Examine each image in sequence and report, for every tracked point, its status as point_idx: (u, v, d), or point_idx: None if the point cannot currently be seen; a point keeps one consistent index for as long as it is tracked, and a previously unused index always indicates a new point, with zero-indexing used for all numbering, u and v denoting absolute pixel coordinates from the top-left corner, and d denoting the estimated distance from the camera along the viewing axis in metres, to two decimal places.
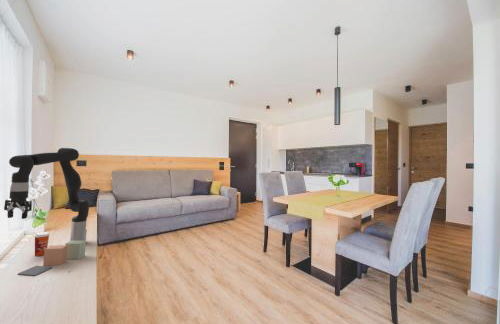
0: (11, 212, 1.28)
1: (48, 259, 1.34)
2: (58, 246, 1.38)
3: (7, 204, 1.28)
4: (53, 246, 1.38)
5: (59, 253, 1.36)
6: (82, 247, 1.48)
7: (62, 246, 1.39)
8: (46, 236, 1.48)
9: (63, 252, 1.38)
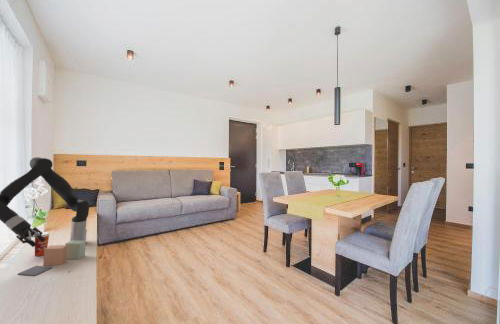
0: (40, 237, 1.39)
1: (48, 259, 1.34)
2: (58, 246, 1.38)
3: None
4: (53, 246, 1.38)
5: (59, 253, 1.36)
6: (82, 247, 1.48)
7: (62, 246, 1.39)
8: (46, 236, 1.48)
9: (63, 252, 1.38)
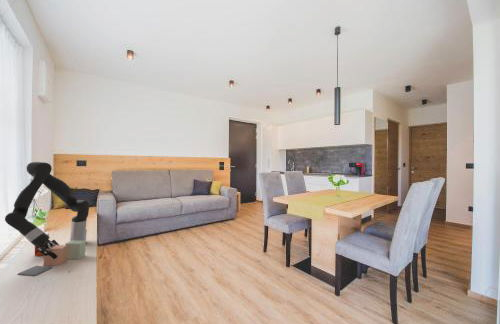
0: None
1: (48, 259, 1.34)
2: (58, 246, 1.38)
3: None
4: (53, 246, 1.38)
5: (59, 253, 1.36)
6: (82, 247, 1.48)
7: (62, 246, 1.39)
8: None
9: (63, 252, 1.38)
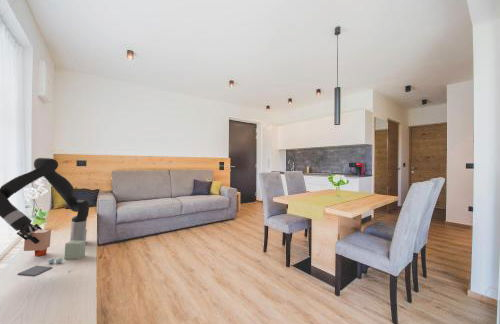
0: None
1: (29, 244, 1.23)
2: (41, 231, 1.27)
3: None
4: (35, 230, 1.28)
5: (41, 238, 1.25)
6: (82, 247, 1.48)
7: (45, 230, 1.28)
8: None
9: (46, 237, 1.27)
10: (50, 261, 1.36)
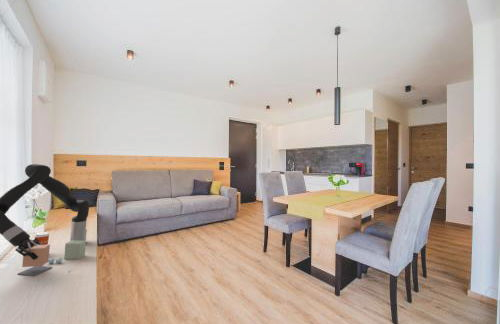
0: None
1: (28, 260, 1.23)
2: (39, 246, 1.27)
3: None
4: (34, 246, 1.27)
5: (40, 253, 1.25)
6: (82, 247, 1.48)
7: (44, 246, 1.28)
8: (46, 236, 1.48)
9: (45, 252, 1.27)
10: (50, 261, 1.36)
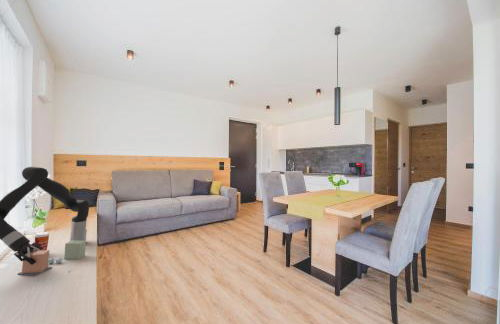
0: None
1: (27, 266, 1.23)
2: (39, 252, 1.27)
3: None
4: (33, 252, 1.27)
5: (39, 259, 1.25)
6: (82, 247, 1.48)
7: (43, 251, 1.28)
8: (46, 236, 1.48)
9: (44, 258, 1.27)
10: (50, 261, 1.36)
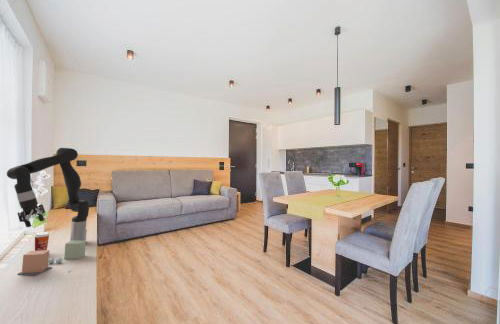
0: (40, 216, 1.40)
1: (27, 266, 1.23)
2: (39, 252, 1.27)
3: (39, 209, 1.41)
4: (33, 252, 1.27)
5: (39, 259, 1.25)
6: (82, 247, 1.48)
7: (43, 251, 1.28)
8: (46, 236, 1.48)
9: (44, 258, 1.27)
10: (50, 261, 1.36)
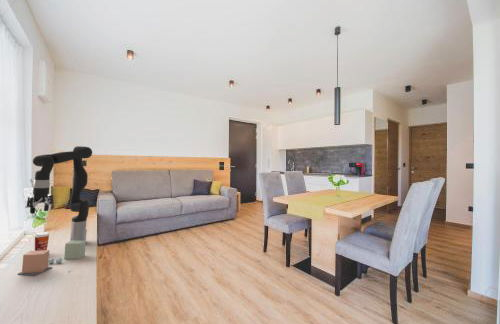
0: (46, 206, 1.45)
1: (27, 266, 1.23)
2: (39, 252, 1.27)
3: (48, 198, 1.47)
4: (33, 252, 1.27)
5: (39, 259, 1.25)
6: (82, 247, 1.48)
7: (43, 251, 1.28)
8: (46, 236, 1.48)
9: (44, 258, 1.27)
10: (50, 261, 1.36)
